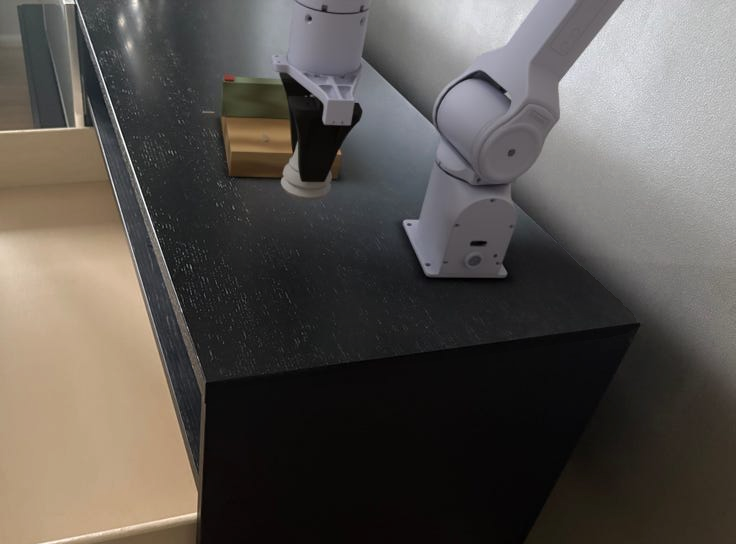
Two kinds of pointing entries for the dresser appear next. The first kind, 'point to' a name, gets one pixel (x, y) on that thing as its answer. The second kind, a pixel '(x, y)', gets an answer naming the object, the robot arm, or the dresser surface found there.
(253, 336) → the dresser surface
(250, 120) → the base
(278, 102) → the green flat block
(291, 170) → the rook chess piece
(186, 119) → the dresser surface
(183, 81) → the dresser surface
